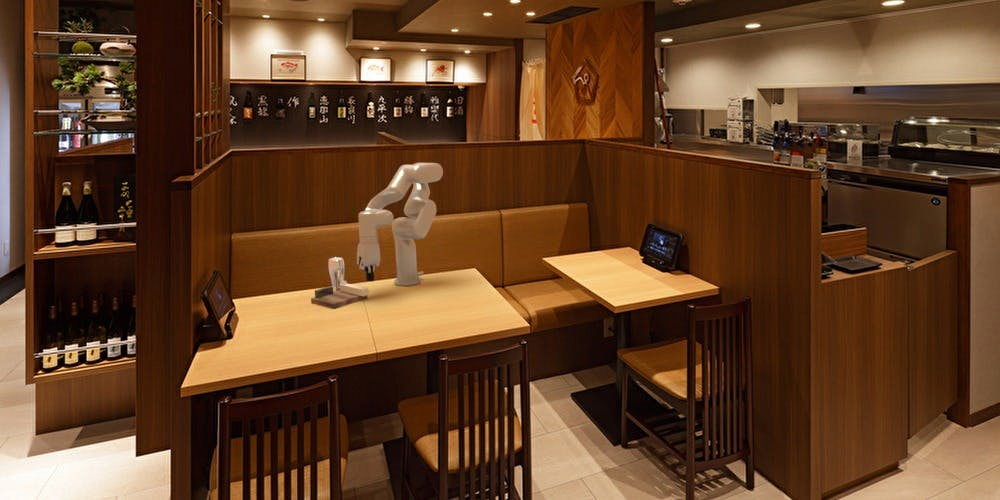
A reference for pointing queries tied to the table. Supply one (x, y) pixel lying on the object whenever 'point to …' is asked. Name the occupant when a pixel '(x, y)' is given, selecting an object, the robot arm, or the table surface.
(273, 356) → the table surface
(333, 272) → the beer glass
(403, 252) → the robot arm
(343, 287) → the hinged leg
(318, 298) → the brown rectangular tray
